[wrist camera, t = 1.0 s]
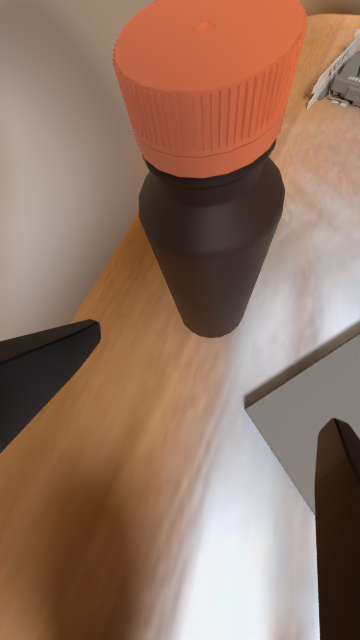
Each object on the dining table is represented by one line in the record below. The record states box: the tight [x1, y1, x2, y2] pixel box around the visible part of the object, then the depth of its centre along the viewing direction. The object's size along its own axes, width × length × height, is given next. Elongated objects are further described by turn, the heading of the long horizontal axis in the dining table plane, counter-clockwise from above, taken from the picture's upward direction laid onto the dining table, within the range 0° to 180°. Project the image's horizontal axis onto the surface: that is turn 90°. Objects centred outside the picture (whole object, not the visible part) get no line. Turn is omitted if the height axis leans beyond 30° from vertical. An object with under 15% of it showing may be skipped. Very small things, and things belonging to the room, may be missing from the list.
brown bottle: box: [112, 0, 307, 338], centre depth 15 cm, size 7×7×20 cm
